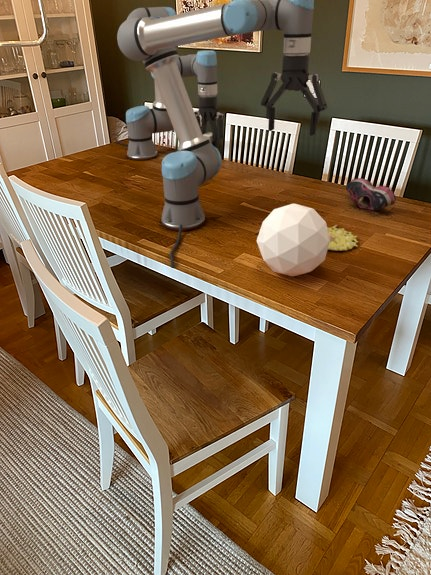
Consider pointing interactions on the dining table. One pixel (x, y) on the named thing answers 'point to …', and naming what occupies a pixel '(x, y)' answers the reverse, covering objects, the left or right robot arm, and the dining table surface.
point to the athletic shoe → (370, 194)
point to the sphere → (293, 240)
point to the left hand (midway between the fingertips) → (209, 155)
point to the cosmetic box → (209, 136)
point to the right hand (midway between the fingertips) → (291, 132)
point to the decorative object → (340, 239)
